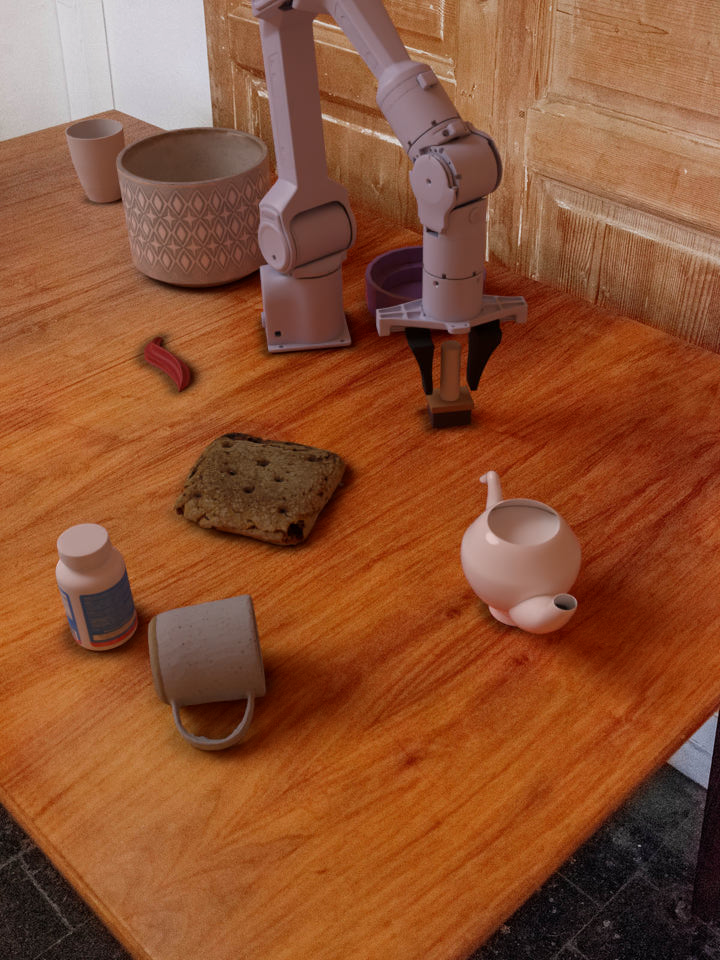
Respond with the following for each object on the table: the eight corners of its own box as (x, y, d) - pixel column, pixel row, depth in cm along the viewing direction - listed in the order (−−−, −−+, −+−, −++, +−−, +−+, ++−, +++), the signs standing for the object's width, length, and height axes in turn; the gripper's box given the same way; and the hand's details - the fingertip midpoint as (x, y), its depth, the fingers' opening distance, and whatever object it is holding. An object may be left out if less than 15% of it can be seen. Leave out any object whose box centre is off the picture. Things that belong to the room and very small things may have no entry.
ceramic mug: (158, 657, 88) (143, 589, 83) (259, 642, 89) (251, 573, 84) (163, 765, 79) (148, 696, 75) (275, 747, 80) (267, 678, 76)
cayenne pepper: (142, 340, 127) (139, 326, 126) (181, 335, 128) (179, 321, 127) (150, 395, 118) (147, 380, 117) (192, 389, 119) (190, 374, 118)
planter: (129, 239, 149) (111, 135, 140) (264, 222, 152) (255, 120, 143) (139, 303, 134) (120, 192, 126) (288, 283, 137) (280, 173, 129)
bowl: (375, 340, 126) (375, 306, 123) (359, 283, 137) (358, 250, 134) (496, 329, 127) (498, 294, 125) (470, 273, 138) (471, 240, 136)
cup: (139, 185, 163) (129, 118, 157) (125, 207, 157) (114, 139, 151) (87, 184, 164) (74, 118, 158) (70, 206, 158) (57, 139, 152)
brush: (431, 430, 112) (432, 356, 106) (425, 411, 114) (425, 338, 109) (473, 425, 112) (476, 351, 107) (466, 407, 115) (469, 334, 109)
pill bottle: (150, 613, 92) (132, 524, 86) (118, 659, 88) (97, 569, 82) (92, 600, 93) (71, 511, 87) (59, 644, 89) (34, 554, 83)
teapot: (530, 522, 100) (538, 440, 94) (617, 685, 84) (632, 598, 78) (429, 539, 98) (430, 456, 93) (498, 708, 83) (505, 621, 77)
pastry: (209, 576, 95) (205, 550, 93) (145, 471, 107) (141, 446, 106) (384, 514, 101) (384, 488, 99) (304, 421, 113) (303, 397, 112)
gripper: (383, 292, 99) (385, 416, 107) (540, 278, 100) (529, 402, 108) (371, 257, 104) (374, 378, 113) (520, 245, 106) (512, 365, 114)
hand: (449, 387), depth 111 cm, fingers open, 4 cm apart
